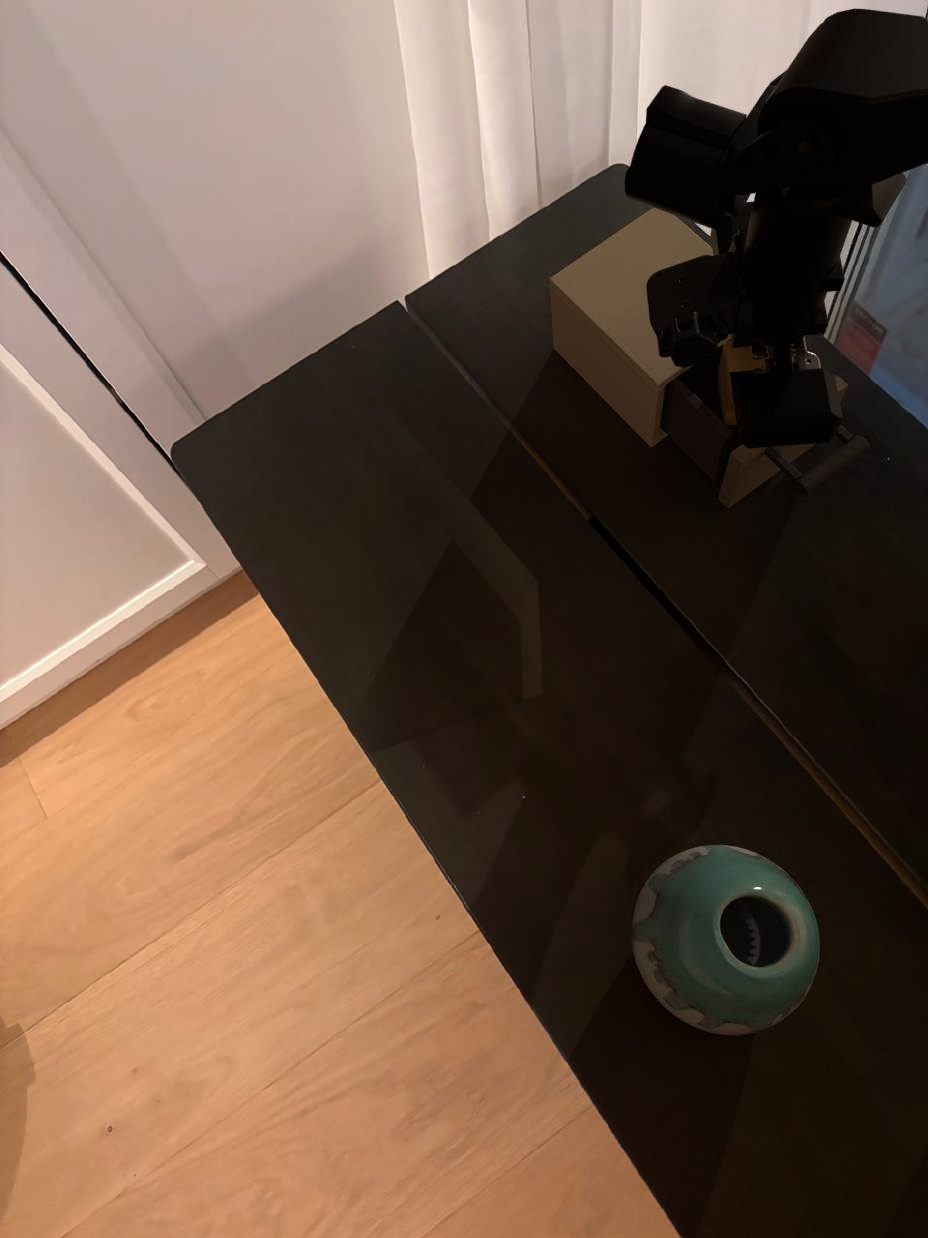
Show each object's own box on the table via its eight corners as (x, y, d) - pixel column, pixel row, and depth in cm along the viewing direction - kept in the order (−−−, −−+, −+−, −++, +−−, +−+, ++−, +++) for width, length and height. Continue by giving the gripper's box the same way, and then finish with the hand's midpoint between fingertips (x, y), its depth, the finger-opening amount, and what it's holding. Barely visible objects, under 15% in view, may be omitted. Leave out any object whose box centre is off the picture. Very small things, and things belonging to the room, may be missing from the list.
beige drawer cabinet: (755, 372, 79) (775, 301, 71) (651, 447, 78) (658, 385, 69) (653, 278, 84) (660, 202, 75) (553, 348, 83) (548, 278, 74)
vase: (755, 831, 66) (811, 786, 49) (828, 997, 61) (917, 1009, 45) (604, 884, 66) (608, 857, 49) (666, 1054, 61) (694, 1087, 45)
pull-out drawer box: (867, 475, 73) (895, 426, 67) (768, 549, 72) (786, 507, 65) (721, 342, 79) (734, 284, 73) (628, 409, 78) (631, 356, 72)
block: (775, 371, 71) (786, 335, 67) (783, 421, 70) (795, 386, 66) (716, 377, 72) (724, 340, 68) (723, 425, 70) (731, 391, 66)
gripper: (646, 142, 60) (636, 302, 74) (673, 381, 53) (656, 506, 68) (823, 121, 58) (777, 288, 73) (873, 364, 52) (812, 495, 66)
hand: (752, 390), depth 70 cm, fingers closed on block, 4 cm apart
